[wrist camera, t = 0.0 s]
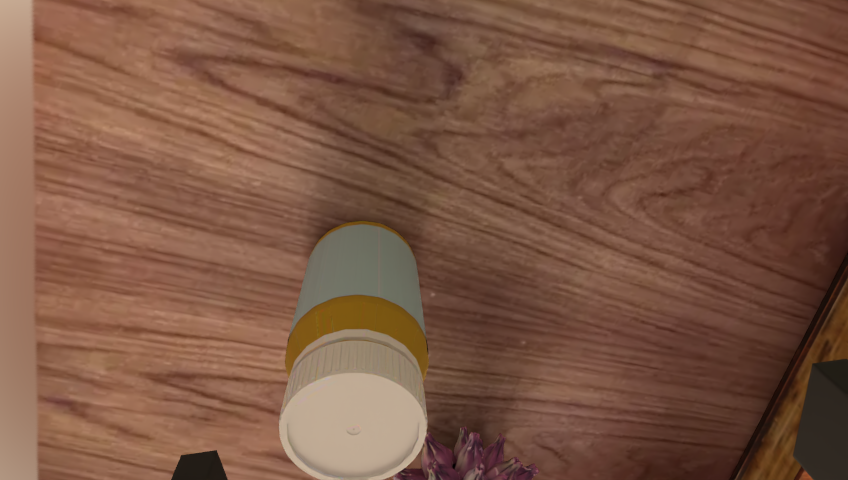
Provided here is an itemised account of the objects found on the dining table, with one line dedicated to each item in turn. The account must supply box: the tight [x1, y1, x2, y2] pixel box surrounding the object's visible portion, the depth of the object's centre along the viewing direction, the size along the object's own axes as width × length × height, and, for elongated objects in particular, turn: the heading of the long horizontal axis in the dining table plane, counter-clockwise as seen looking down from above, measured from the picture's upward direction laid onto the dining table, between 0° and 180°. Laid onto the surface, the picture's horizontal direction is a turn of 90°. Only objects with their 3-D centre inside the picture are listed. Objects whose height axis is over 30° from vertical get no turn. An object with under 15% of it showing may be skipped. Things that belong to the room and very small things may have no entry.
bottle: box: [279, 221, 429, 480], centre depth 30 cm, size 7×7×15 cm
